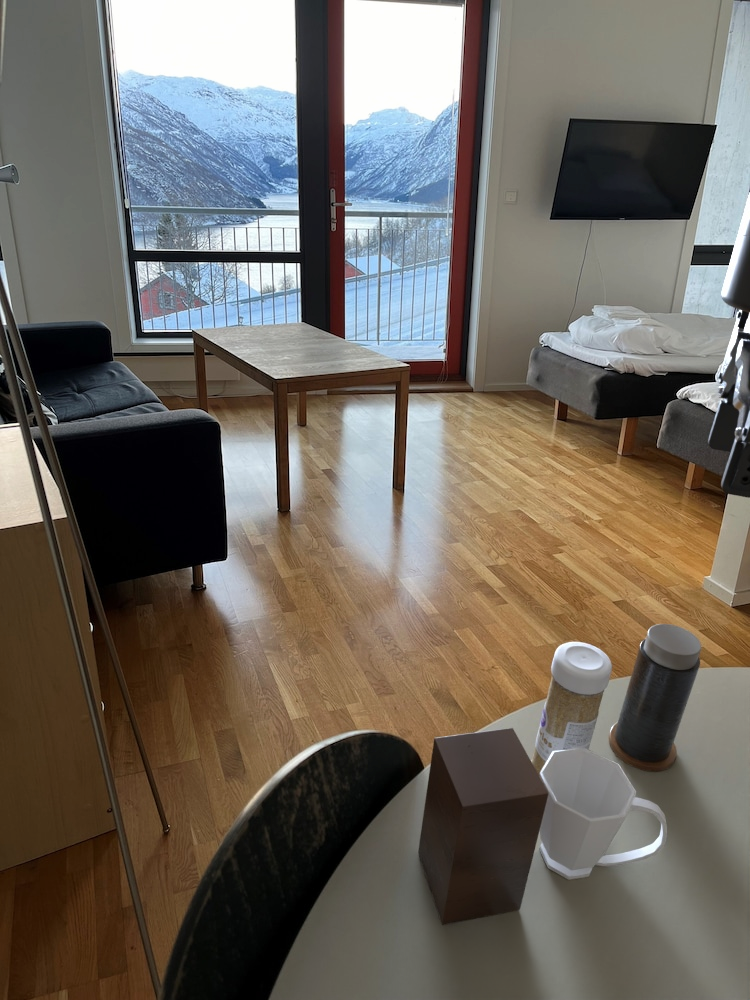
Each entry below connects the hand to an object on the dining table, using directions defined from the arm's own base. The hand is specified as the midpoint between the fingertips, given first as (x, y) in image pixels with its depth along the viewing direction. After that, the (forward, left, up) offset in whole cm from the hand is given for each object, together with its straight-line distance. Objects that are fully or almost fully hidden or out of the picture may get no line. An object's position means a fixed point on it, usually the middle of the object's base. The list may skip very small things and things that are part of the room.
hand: (728, 469), depth 53 cm
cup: (+9, +8, -30) cm, 32 cm away
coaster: (-2, -2, -30) cm, 30 cm away
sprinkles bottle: (+8, 0, -30) cm, 31 cm away
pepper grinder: (-2, -2, -29) cm, 29 cm away
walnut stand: (+19, +8, -30) cm, 36 cm away
